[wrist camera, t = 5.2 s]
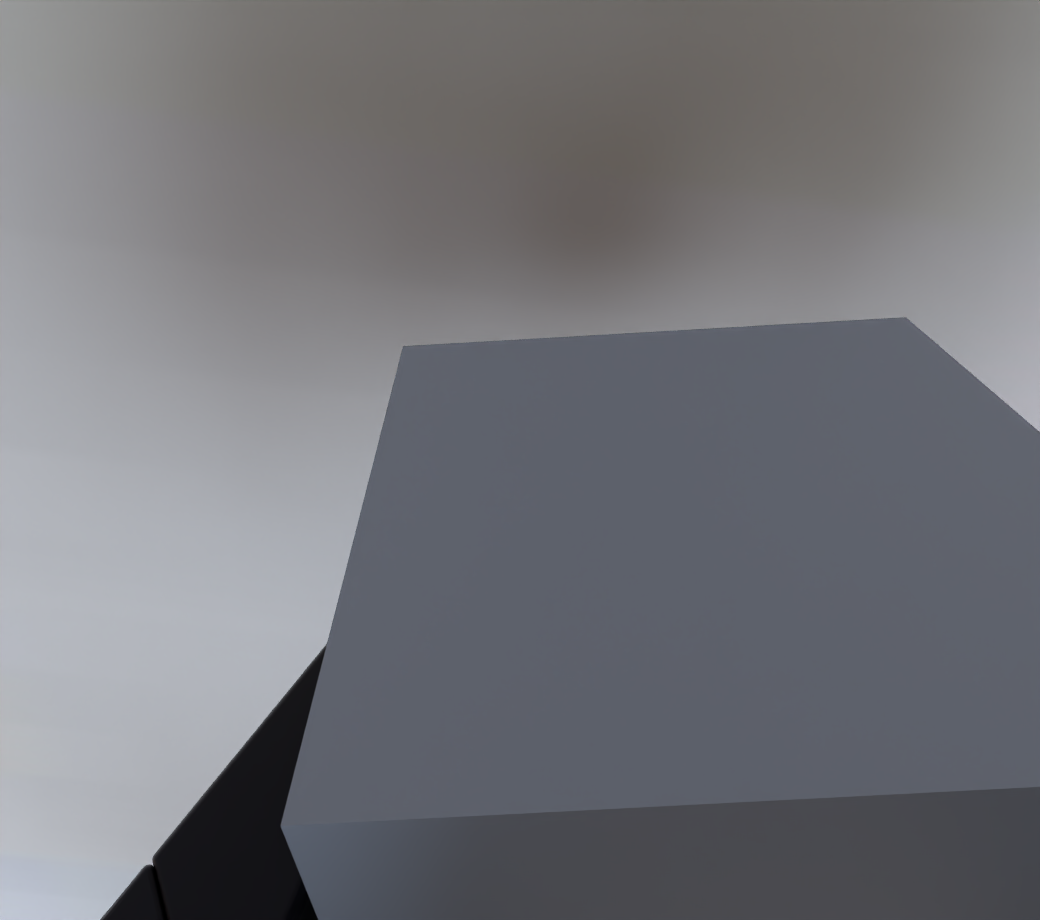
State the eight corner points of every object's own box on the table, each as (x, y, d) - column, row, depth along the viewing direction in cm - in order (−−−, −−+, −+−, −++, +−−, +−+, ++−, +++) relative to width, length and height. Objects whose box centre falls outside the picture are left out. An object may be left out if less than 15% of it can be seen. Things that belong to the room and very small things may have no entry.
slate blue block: (453, 682, 10) (422, 1176, 6) (403, 345, 7) (280, 826, 3) (820, 663, 10) (1045, 1147, 6) (905, 316, 7) (1429, 766, 3)
